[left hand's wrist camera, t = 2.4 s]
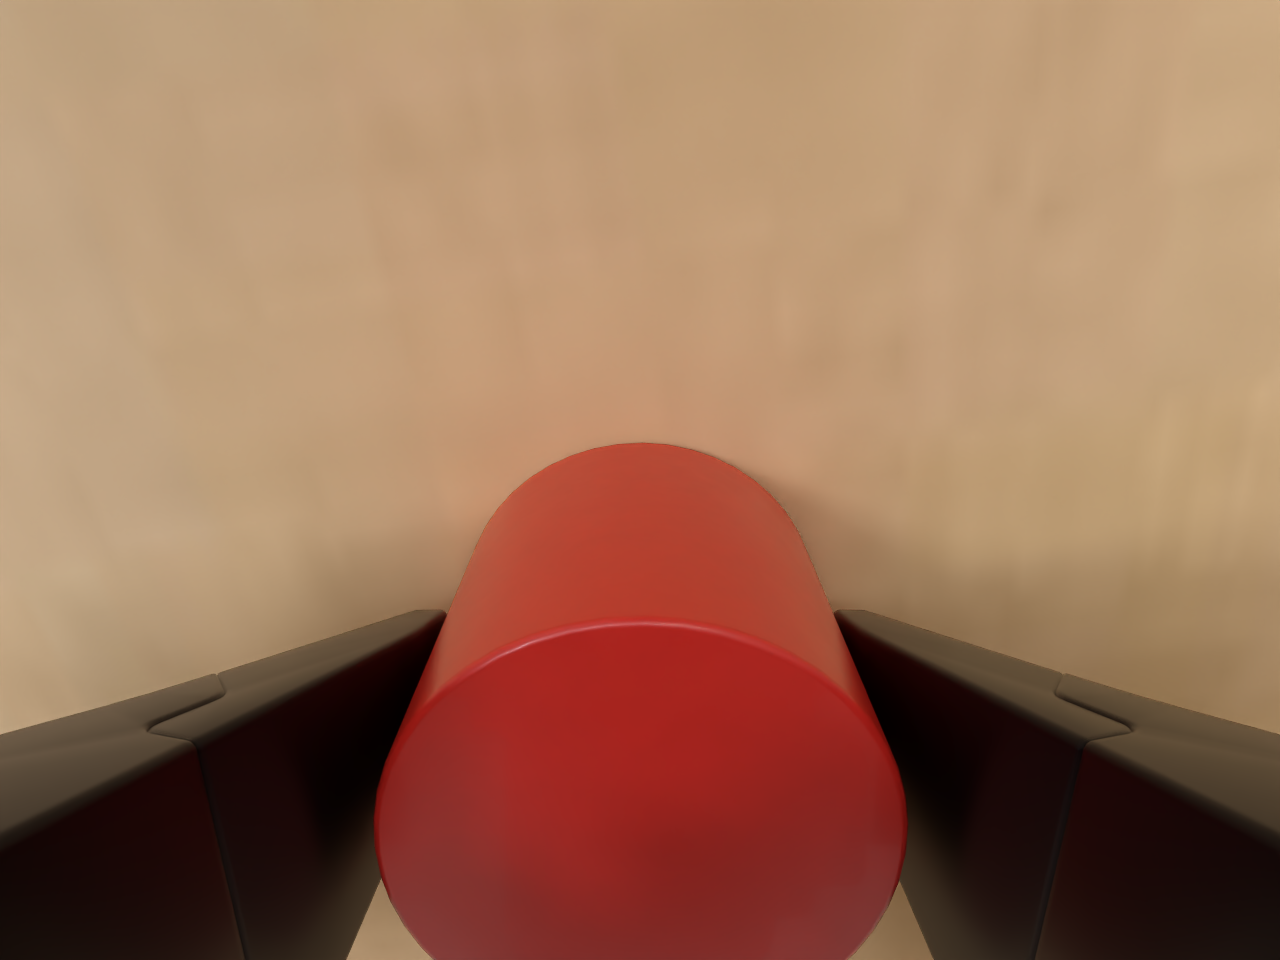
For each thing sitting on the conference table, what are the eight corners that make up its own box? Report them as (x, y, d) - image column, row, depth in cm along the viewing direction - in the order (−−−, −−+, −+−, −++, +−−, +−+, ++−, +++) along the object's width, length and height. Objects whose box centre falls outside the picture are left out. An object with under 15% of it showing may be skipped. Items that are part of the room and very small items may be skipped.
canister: (477, 744, 13) (396, 1038, 9) (456, 439, 11) (341, 617, 7) (799, 747, 13) (878, 1043, 9) (828, 443, 11) (947, 624, 7)
